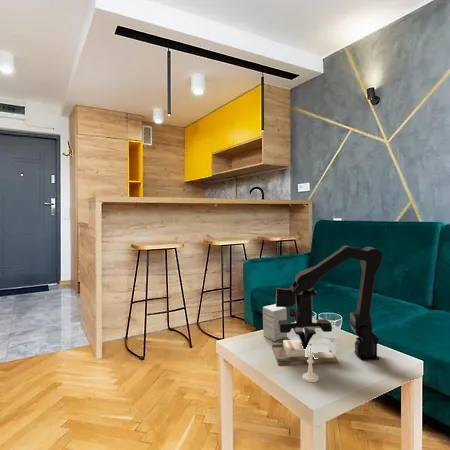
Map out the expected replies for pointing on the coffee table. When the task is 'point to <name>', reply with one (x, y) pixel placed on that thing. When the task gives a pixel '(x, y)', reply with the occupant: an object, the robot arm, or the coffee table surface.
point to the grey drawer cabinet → (273, 321)
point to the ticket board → (285, 360)
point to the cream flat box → (293, 348)
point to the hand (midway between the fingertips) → (304, 348)
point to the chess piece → (310, 370)
